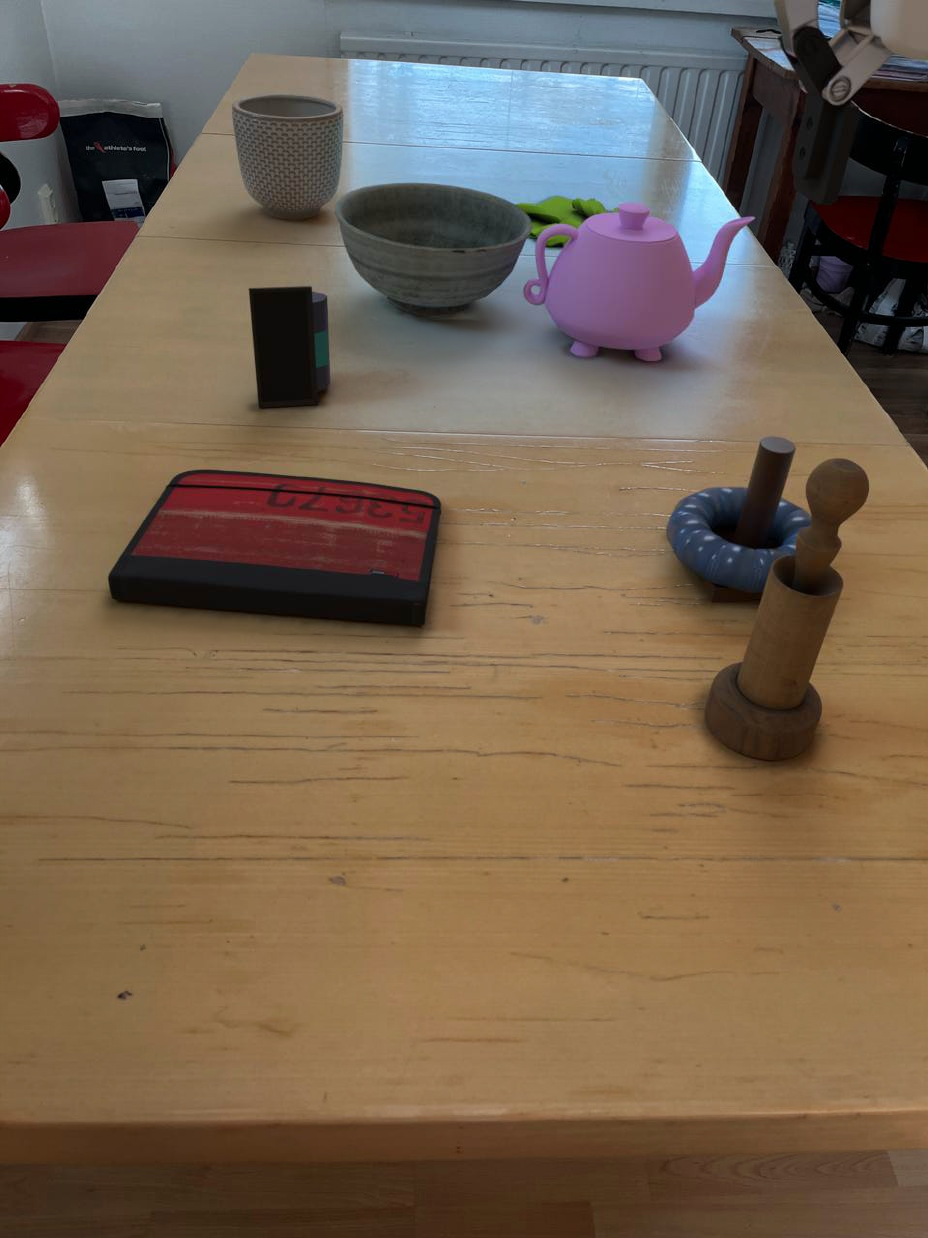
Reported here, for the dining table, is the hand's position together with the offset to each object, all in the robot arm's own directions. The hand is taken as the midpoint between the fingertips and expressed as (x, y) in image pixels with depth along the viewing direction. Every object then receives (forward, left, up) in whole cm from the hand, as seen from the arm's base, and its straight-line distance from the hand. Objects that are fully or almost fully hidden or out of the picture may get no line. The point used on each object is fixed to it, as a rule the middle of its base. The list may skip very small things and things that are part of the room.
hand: (910, 197), depth 46 cm
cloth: (+93, -12, -30) cm, 98 cm away
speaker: (+43, +28, -30) cm, 59 cm away
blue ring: (+12, -3, -27) cm, 30 cm away
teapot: (+53, -7, -30) cm, 61 cm away
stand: (+12, -4, -30) cm, 32 cm away
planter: (+96, +26, -30) cm, 104 cm away
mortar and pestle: (-4, +2, -30) cm, 30 cm away
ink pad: (+17, +29, -30) cm, 45 cm away
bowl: (+64, +12, -30) cm, 72 cm away
